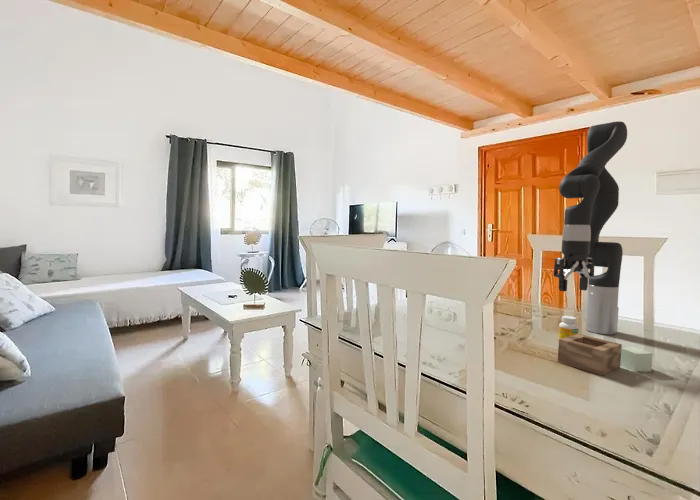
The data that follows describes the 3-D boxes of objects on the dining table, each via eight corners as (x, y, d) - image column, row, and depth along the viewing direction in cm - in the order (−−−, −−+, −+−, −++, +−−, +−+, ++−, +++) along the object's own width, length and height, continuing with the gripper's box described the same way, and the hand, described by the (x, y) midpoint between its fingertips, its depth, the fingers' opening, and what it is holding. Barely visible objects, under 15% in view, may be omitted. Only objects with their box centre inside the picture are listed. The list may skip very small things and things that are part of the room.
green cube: (634, 364, 102) (635, 347, 101) (651, 371, 97) (652, 353, 97) (618, 364, 101) (619, 347, 101) (634, 372, 96) (635, 353, 96)
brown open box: (577, 354, 108) (578, 333, 108) (620, 367, 99) (621, 344, 99) (557, 361, 103) (558, 339, 102) (600, 375, 93) (602, 351, 93)
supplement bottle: (563, 342, 120) (564, 314, 119) (580, 347, 115) (582, 317, 115) (554, 345, 117) (556, 316, 116) (572, 350, 113) (574, 320, 112)
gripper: (581, 239, 119) (578, 288, 120) (548, 238, 114) (545, 289, 115) (604, 240, 112) (600, 291, 113) (569, 239, 107) (566, 293, 108)
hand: (573, 290), depth 114 cm, fingers open, 8 cm apart
